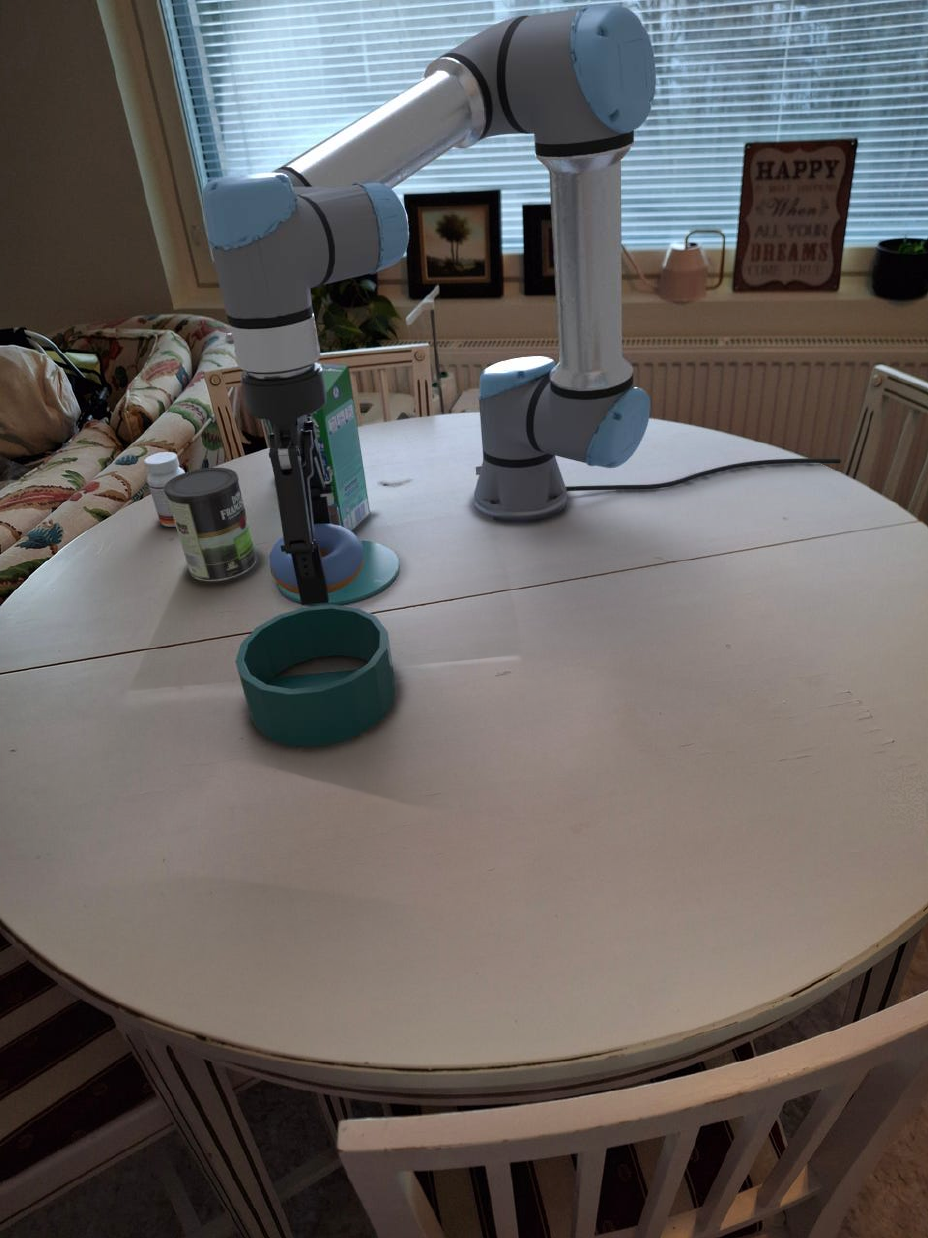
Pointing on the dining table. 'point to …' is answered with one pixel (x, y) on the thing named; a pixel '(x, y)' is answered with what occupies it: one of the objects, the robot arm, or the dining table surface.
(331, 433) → the milk carton
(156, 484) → the pill bottle
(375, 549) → the lid
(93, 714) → the dining table surface
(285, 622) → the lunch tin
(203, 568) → the coffee can
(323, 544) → the doughnut
